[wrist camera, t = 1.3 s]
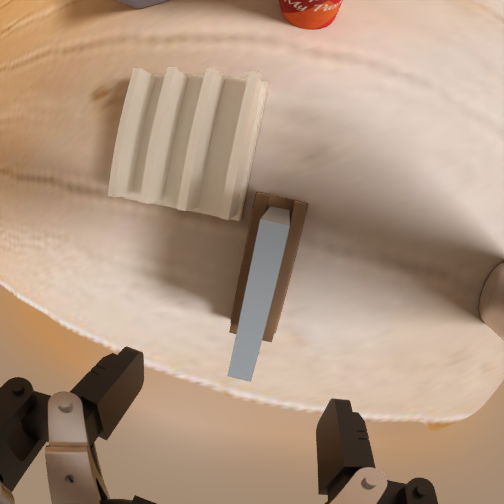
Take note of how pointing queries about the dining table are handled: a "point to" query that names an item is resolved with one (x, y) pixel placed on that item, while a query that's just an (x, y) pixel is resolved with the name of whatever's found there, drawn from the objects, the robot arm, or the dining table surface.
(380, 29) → the dining table surface
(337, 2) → the coffee cup
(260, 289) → the grey-blue flat slab
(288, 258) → the stand
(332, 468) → the robot arm
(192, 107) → the rack
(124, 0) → the bowl
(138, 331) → the dining table surface
